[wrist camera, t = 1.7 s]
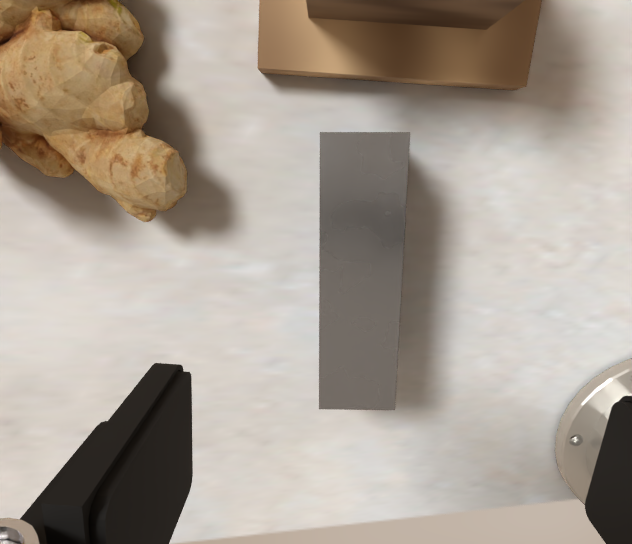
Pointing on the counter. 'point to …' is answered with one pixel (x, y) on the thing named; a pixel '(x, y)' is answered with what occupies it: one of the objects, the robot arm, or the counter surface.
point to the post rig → (401, 40)
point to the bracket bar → (361, 266)
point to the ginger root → (83, 101)
